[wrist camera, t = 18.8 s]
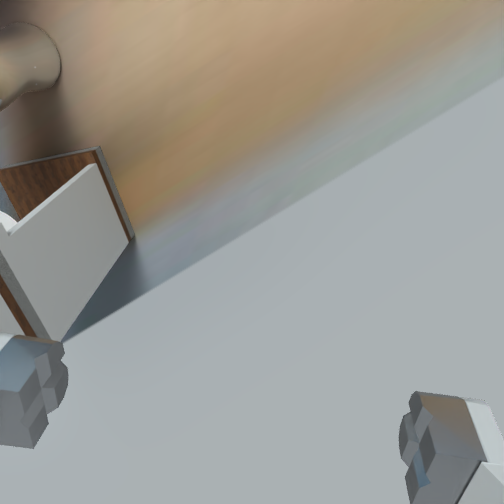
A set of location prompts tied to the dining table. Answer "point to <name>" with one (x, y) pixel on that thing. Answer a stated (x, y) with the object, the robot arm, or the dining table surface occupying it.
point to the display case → (57, 240)
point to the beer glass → (26, 61)
